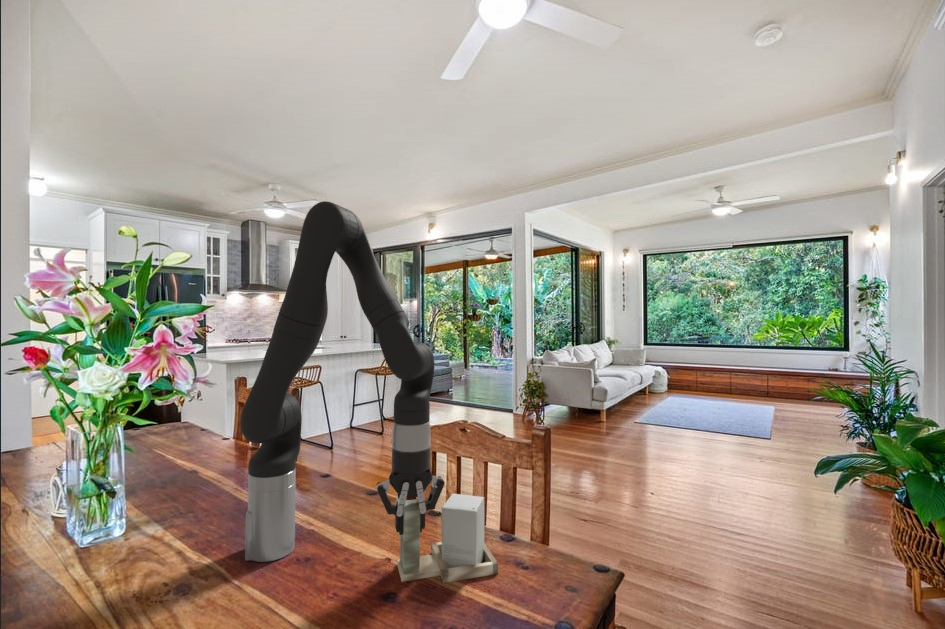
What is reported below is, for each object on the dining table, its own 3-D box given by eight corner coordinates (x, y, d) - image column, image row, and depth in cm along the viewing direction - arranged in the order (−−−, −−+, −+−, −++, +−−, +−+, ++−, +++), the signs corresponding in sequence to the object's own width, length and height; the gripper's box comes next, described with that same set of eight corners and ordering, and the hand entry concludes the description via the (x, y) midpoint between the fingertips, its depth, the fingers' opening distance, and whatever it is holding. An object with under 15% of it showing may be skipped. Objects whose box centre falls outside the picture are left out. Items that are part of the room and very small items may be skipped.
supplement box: (485, 556, 93) (486, 496, 93) (475, 576, 86) (476, 511, 86) (451, 551, 95) (452, 492, 95) (440, 570, 88) (440, 506, 88)
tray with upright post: (403, 589, 81) (404, 519, 81) (395, 558, 92) (396, 495, 92) (497, 573, 87) (498, 507, 87) (480, 545, 97) (481, 486, 97)
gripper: (376, 453, 81) (375, 546, 81) (450, 447, 86) (449, 536, 86) (373, 441, 89) (372, 527, 89) (441, 436, 93) (440, 519, 93)
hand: (410, 531), depth 87 cm, fingers closed on tray with upright post, 3 cm apart
